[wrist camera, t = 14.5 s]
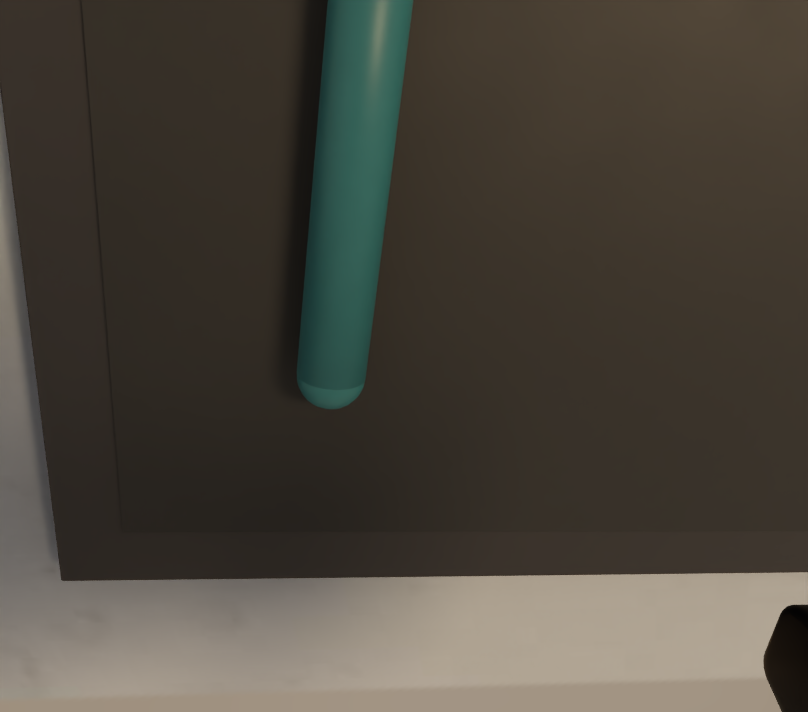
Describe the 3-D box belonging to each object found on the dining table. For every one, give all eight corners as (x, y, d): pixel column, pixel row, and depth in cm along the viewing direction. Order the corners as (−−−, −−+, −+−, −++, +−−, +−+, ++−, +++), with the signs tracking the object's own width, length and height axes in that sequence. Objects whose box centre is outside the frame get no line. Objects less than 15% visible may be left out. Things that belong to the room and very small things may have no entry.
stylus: (374, 414, 14) (490, -442, 9) (315, 427, 13) (407, -507, 8) (339, 386, 15) (426, -399, 10) (282, 396, 14) (346, -453, 9)
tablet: (1492, -273, 13) (1579, -298, 12) (1033, 550, 21) (1067, 572, 20) (-65, -647, 9) (-107, -728, 8) (72, 556, 17) (58, 585, 16)
